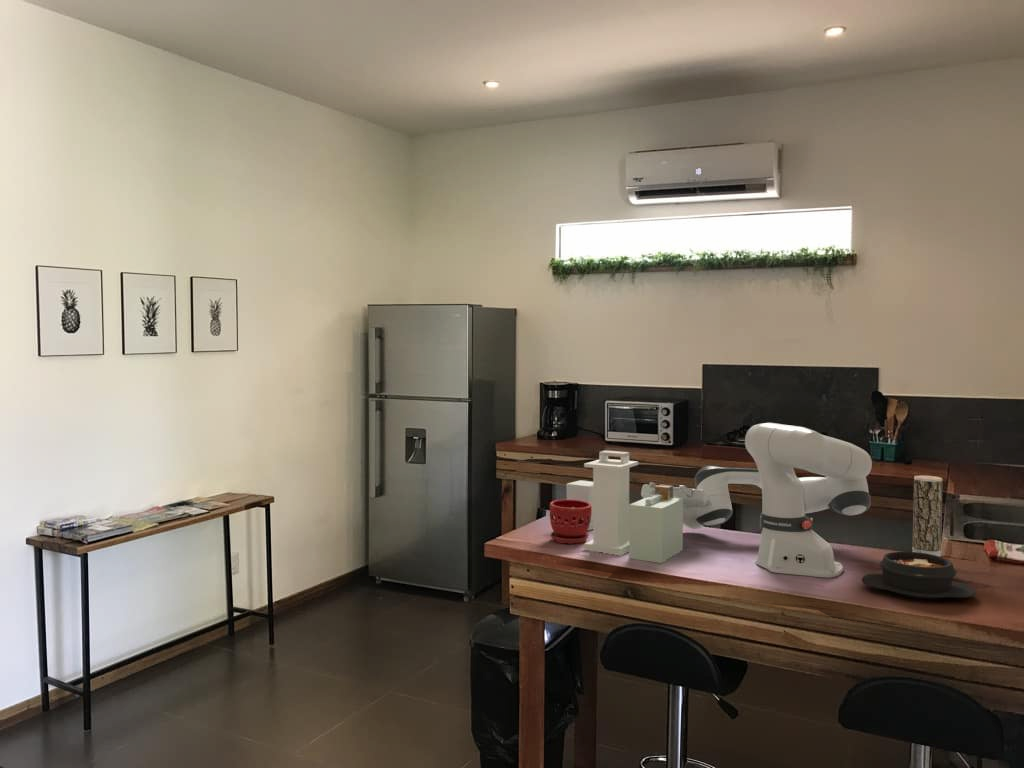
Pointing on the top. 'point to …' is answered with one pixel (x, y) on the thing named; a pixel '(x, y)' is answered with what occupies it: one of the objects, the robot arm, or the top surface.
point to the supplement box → (581, 494)
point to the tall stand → (610, 503)
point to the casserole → (918, 576)
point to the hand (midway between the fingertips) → (666, 486)
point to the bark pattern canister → (927, 515)
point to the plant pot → (570, 520)
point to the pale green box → (655, 529)
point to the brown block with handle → (661, 494)
